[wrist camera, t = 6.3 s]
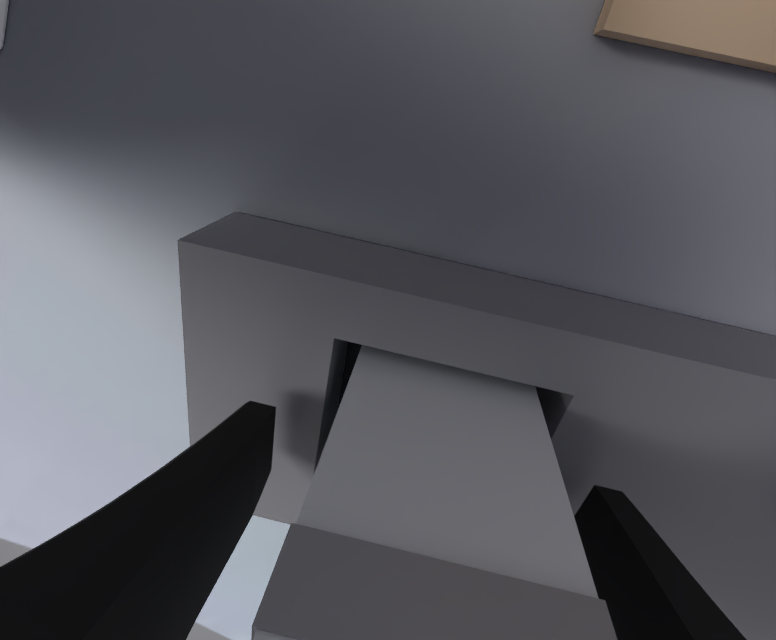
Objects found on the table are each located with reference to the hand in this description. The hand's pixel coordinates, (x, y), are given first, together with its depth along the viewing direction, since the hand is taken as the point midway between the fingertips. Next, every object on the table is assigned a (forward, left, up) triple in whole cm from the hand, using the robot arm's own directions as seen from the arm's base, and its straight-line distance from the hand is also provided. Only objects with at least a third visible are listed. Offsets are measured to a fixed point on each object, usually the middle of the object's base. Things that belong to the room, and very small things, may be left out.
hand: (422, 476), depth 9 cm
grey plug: (0, 0, -3) cm, 3 cm away
